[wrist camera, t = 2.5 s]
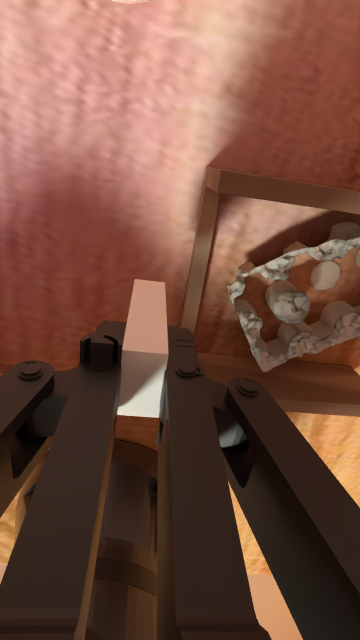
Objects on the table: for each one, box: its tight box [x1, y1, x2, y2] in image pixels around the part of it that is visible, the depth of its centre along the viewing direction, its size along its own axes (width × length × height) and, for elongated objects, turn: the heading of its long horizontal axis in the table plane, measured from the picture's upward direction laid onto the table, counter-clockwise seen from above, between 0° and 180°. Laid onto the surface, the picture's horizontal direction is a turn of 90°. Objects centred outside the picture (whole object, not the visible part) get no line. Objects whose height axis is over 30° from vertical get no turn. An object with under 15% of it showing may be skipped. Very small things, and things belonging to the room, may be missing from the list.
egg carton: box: [227, 221, 360, 372], centre depth 23 cm, size 11×8×4 cm
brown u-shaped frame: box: [180, 166, 360, 417], centre depth 22 cm, size 14×14×5 cm
